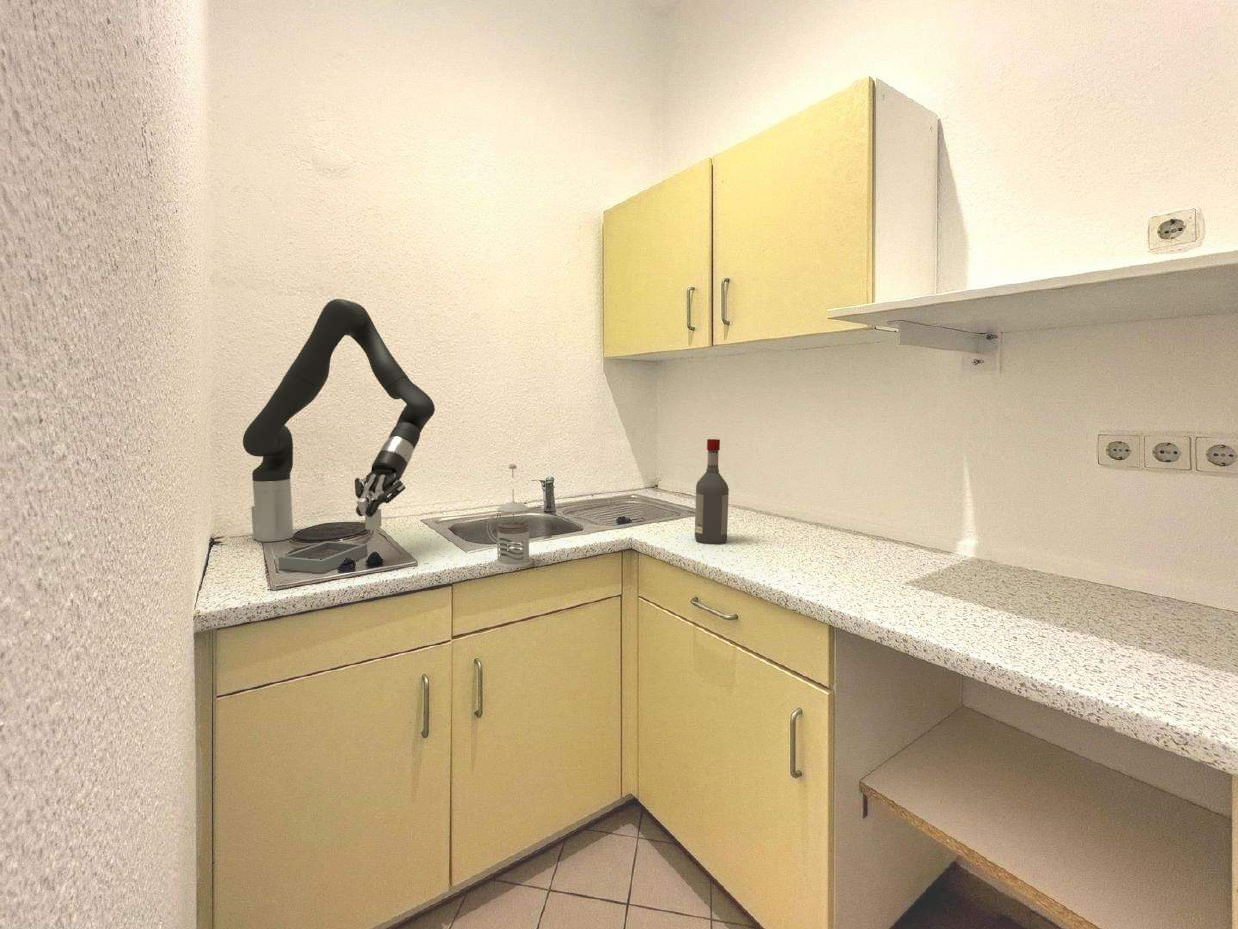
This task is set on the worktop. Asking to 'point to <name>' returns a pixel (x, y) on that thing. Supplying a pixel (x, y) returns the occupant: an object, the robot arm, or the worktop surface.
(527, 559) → the french press
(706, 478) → the liquor
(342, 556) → the tray
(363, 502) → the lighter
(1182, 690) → the worktop surface
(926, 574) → the worktop surface
